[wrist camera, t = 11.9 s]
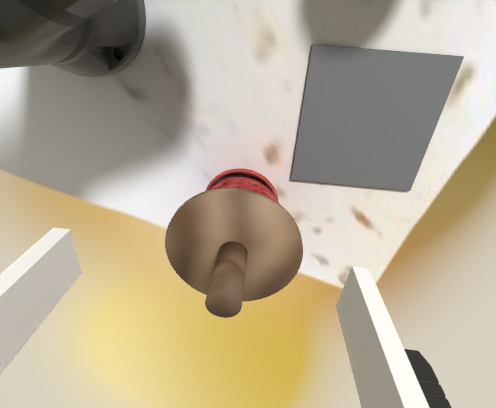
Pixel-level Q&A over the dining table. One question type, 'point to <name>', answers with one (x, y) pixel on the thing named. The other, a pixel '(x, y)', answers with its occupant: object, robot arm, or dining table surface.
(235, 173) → the plant pot
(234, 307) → the lid
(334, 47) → the mat
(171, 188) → the dining table surface
